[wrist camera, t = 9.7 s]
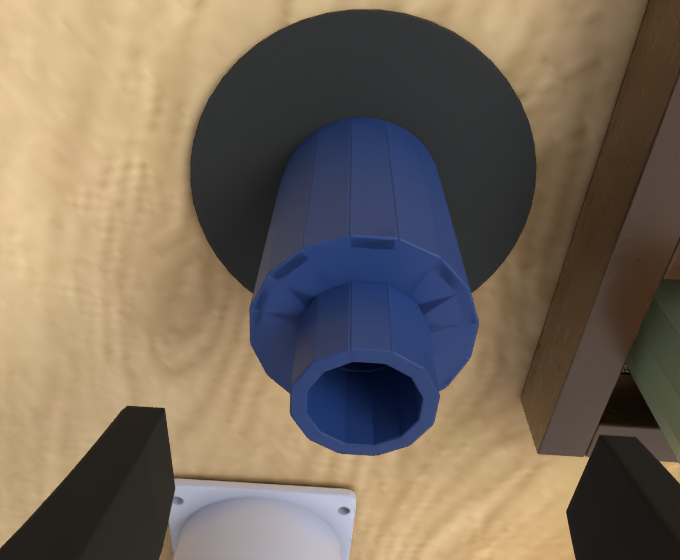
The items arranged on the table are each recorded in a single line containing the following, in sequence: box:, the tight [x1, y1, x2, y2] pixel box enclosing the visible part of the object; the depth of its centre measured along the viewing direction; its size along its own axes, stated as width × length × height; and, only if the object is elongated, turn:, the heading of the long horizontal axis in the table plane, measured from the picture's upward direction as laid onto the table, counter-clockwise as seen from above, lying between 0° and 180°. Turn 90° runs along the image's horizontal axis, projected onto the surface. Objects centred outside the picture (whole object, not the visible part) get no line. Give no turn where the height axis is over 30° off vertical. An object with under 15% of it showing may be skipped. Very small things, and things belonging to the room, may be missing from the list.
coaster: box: [191, 10, 536, 293], centre depth 18 cm, size 10×10×1 cm
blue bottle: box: [250, 117, 479, 456], centre depth 14 cm, size 5×5×8 cm
